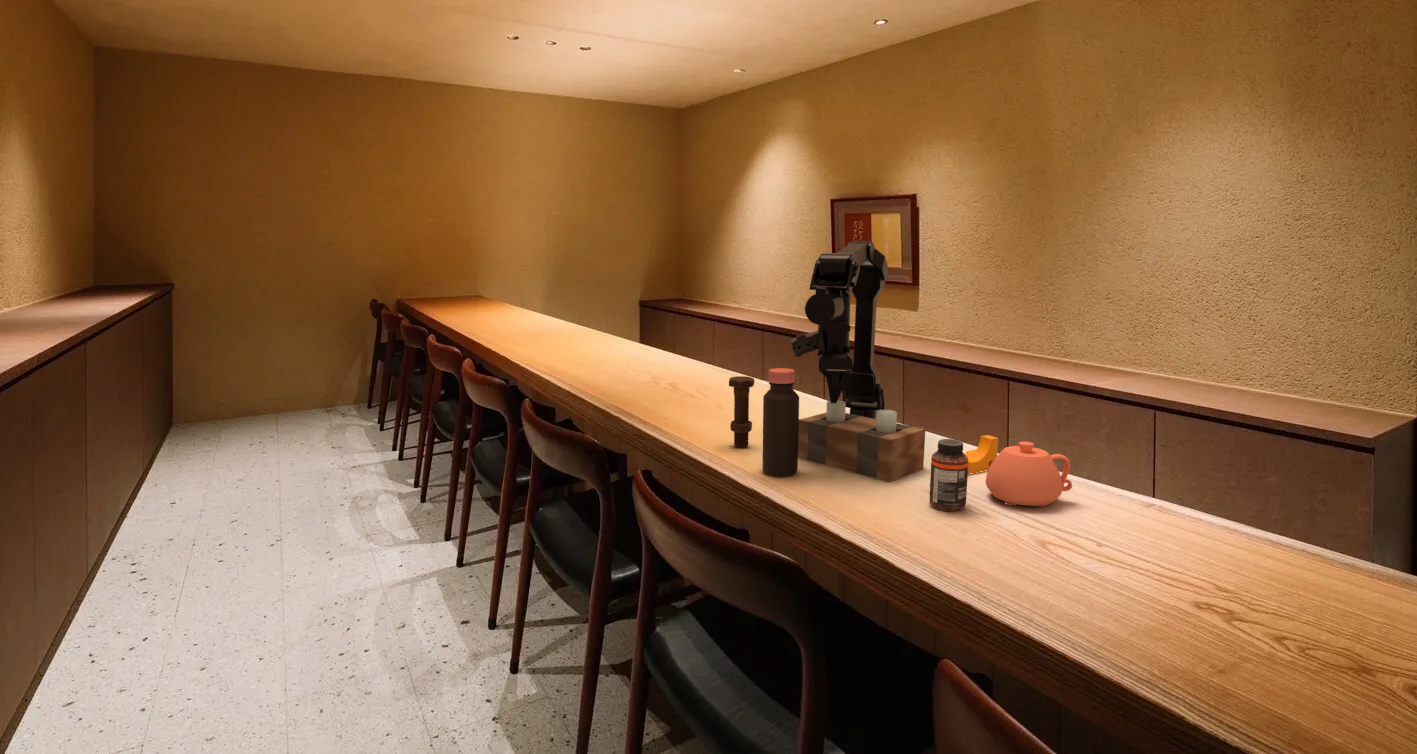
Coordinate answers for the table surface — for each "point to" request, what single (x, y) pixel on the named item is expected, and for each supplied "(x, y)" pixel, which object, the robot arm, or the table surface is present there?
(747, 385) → the bolt
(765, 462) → the dark brown bottle
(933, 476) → the supplement bottle
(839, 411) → the peg
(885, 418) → the peg
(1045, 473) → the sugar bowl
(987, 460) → the orange tape dispenser
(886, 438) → the socket block
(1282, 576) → the table surface
